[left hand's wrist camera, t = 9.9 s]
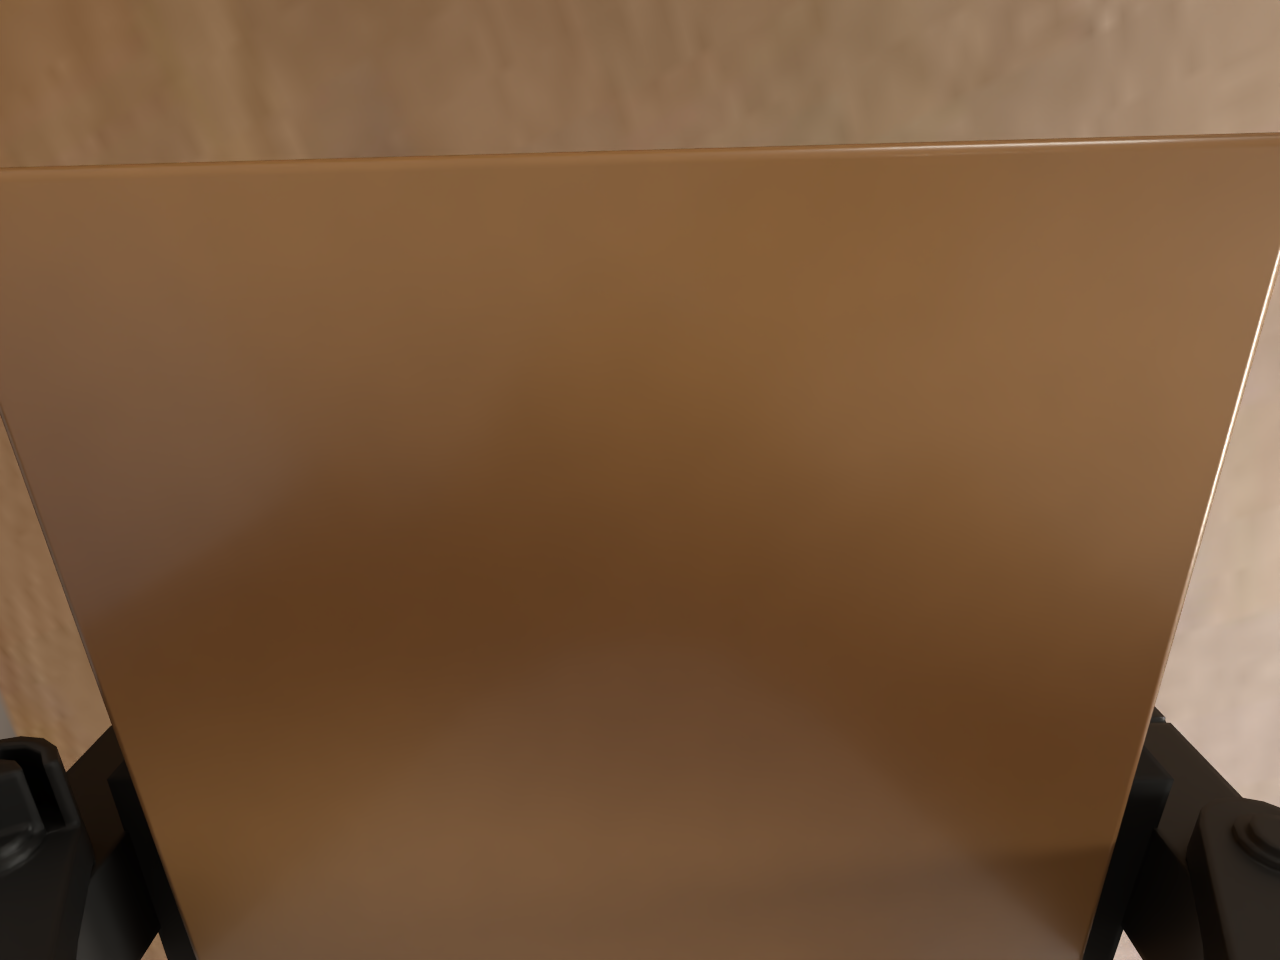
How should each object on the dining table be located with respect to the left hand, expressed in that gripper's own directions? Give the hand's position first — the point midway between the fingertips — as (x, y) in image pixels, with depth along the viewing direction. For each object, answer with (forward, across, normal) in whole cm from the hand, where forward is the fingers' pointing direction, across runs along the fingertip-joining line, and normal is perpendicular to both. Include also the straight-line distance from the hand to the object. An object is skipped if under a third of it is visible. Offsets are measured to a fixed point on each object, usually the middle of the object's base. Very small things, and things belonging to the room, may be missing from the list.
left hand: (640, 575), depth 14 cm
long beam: (+1, +1, -25) cm, 25 cm away
